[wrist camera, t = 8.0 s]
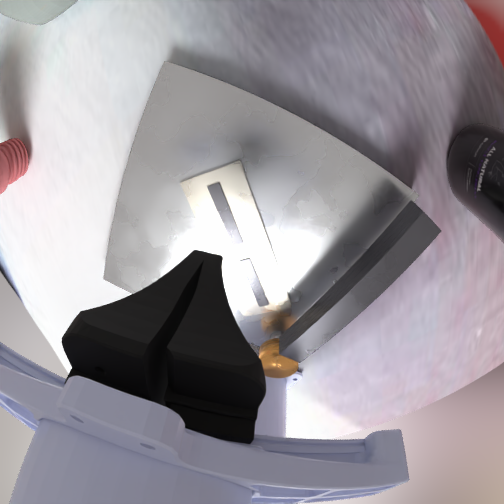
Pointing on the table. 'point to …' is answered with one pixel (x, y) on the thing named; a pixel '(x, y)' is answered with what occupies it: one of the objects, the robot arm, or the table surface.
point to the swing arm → (351, 291)
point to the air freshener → (34, 10)
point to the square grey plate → (245, 200)
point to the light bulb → (12, 162)
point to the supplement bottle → (479, 174)
